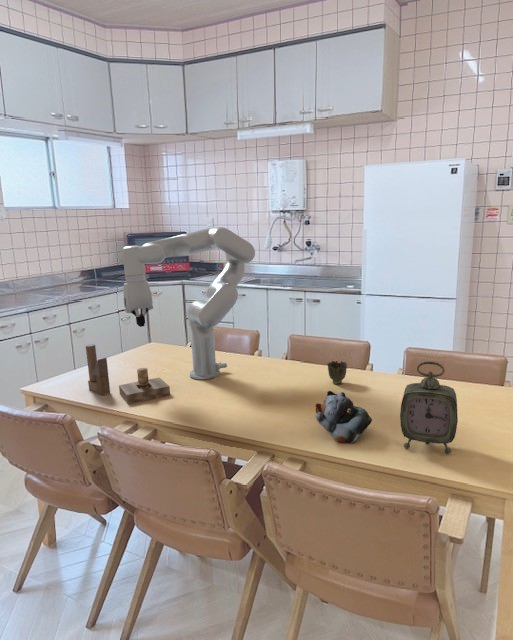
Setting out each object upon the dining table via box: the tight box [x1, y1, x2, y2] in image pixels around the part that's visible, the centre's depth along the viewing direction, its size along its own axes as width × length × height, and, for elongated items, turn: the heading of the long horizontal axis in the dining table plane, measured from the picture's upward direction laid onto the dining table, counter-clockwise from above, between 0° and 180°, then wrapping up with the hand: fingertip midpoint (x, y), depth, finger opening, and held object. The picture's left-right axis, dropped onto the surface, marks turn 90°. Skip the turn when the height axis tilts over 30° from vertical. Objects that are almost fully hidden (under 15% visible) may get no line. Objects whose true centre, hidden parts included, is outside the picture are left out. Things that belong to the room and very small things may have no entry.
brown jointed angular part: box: [85, 343, 111, 396], centre depth 189 cm, size 4×11×18 cm, turn 45°
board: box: [118, 376, 171, 405], centre depth 185 cm, size 16×12×4 cm
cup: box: [327, 360, 348, 385], centre depth 188 cm, size 8×7×8 cm
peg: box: [136, 367, 149, 389], centre depth 184 cm, size 4×4×10 cm
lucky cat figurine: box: [315, 390, 373, 444], centre depth 146 cm, size 15×12×14 cm
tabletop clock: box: [399, 361, 459, 455], centre depth 134 cm, size 14×9×25 cm, turn 69°
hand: (141, 325), depth 188 cm, fingers closed
